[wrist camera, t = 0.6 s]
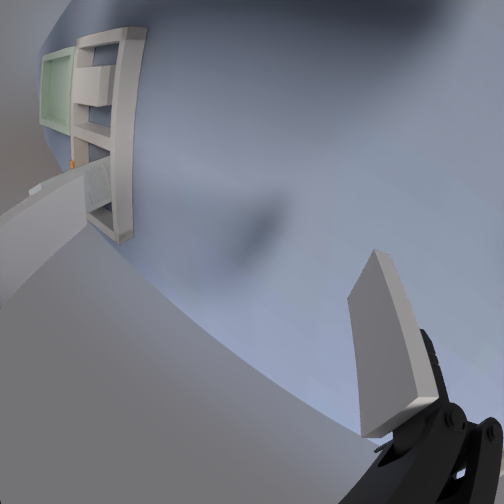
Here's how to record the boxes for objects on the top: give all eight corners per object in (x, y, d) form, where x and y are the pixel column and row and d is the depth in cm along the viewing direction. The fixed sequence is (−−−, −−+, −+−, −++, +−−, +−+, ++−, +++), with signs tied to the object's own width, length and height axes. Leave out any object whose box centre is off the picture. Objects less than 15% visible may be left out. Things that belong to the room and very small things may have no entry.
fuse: (98, 65, 24) (74, 67, 21) (128, 64, 22) (101, 65, 19) (95, 98, 27) (72, 102, 24) (124, 102, 24) (98, 107, 22)
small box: (116, 153, 29) (39, 181, 21) (127, 195, 31) (55, 231, 23) (90, 163, 33) (27, 189, 25) (99, 199, 35) (39, 229, 27)
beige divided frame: (93, 37, 22) (75, 38, 20) (147, 27, 18) (125, 26, 16) (89, 204, 38) (75, 211, 35) (133, 236, 34) (117, 245, 32)
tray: (54, 53, 27) (42, 55, 25) (90, 44, 23) (74, 45, 21) (51, 120, 35) (39, 123, 33) (84, 131, 30) (69, 135, 29)
